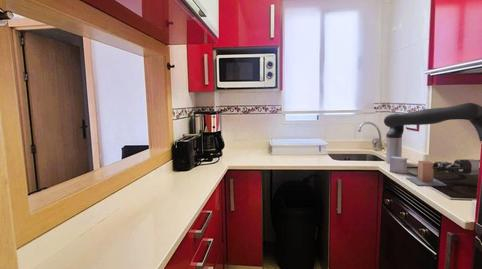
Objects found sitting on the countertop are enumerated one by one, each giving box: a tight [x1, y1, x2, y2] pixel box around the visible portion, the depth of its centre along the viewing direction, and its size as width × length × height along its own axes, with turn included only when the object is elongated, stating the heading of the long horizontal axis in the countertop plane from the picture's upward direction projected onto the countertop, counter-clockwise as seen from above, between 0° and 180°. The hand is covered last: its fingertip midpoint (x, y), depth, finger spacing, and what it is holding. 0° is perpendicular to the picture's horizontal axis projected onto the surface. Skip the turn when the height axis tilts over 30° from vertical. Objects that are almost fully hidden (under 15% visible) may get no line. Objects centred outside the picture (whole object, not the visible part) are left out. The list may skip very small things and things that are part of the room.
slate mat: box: [405, 177, 447, 187], centre depth 142 cm, size 13×13×1 cm
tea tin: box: [417, 160, 435, 182], centre depth 141 cm, size 5×5×10 cm
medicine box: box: [389, 156, 408, 174], centre depth 162 cm, size 8×4×9 cm, turn 41°
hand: (432, 167), depth 140 cm, fingers open, 8 cm apart
